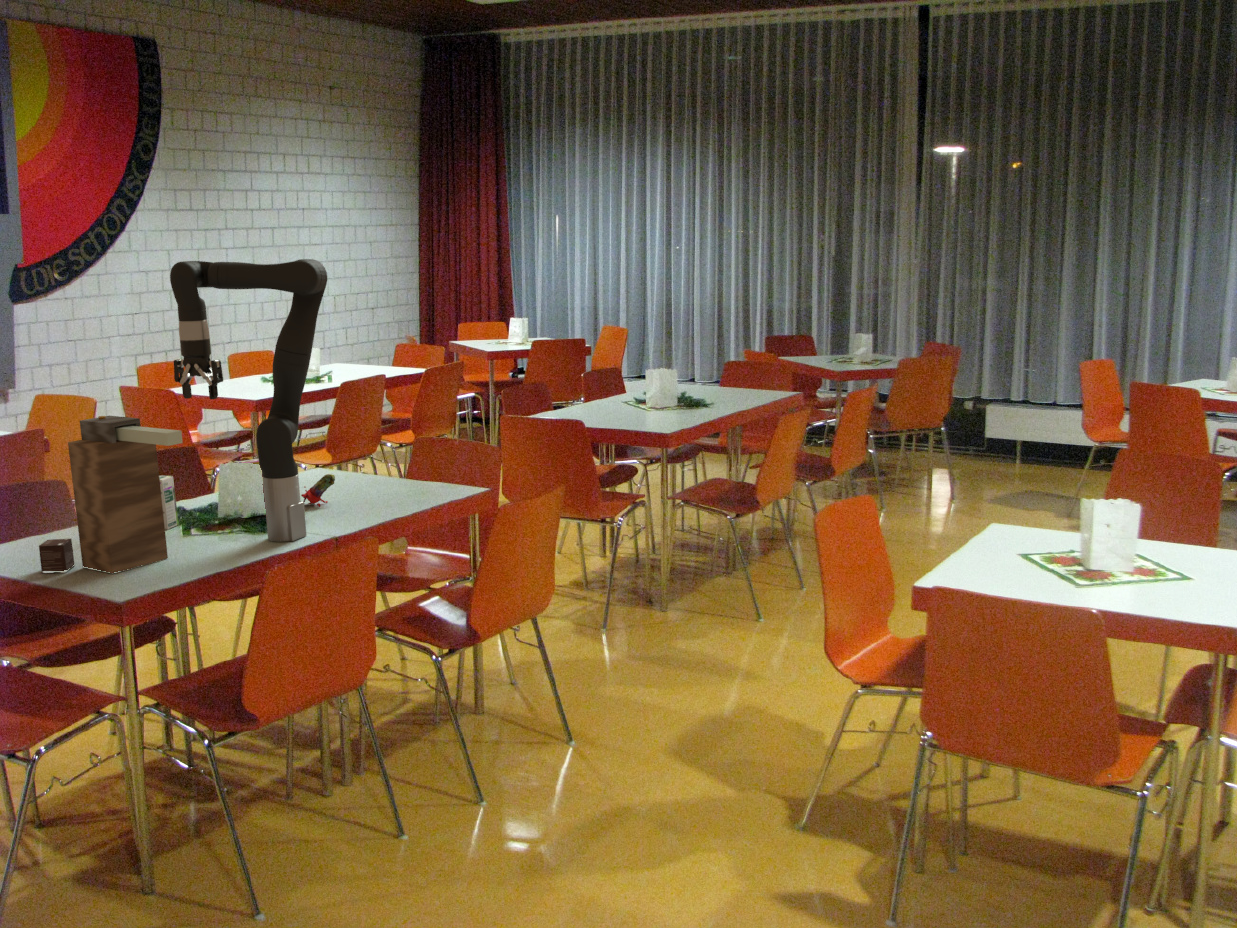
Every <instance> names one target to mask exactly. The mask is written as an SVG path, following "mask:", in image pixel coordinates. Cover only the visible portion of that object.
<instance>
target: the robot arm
mask: <svg viewBox="0 0 1237 928" xmlns="http://www.w3.org/2000/svg"><path fill="white" fill-rule="evenodd" d="M327 272H328V271H327V270H326V268H325V266H324V265H323V264H322V262H320V261H318V260H316V259H313V258H312V259H309V258H302V259H296V260H293V261H288V262H281V263H274V264H269V263H268V264H261V263H252V262H251V263H250V262H241V261H238V262H237V261H216V262H212V261H204V260H203V261H202V260H201V261H200V260H186V261H178V262H176V263H175V264H174V265H173V266H172V267H171V270H170V273H169V281H170V286H171V289H172V293H173V296H174V299H175V301H176V304H177V313H178V336H179V346H180V353H181V356H182V357H183V359H182V358H179V359H178V358H177V359H174V360H173V373H174V377H173V378H174V382H175V383H179V384H180V385H181V390H182V391H181V392H182V396H183V398H184V399H186V400H187V399H191V398H192V397H193V395H192V385H191V381H192V380H193V378H194V377H202V379H203V380H205V381H206V382H207V385H208V386H207V387H208V395H209V396H208V397H209V400H216V399H218V396H219V392H218V391H219V390H218V385H219V384H220V383H223V382H224V377H223V376H224V375H223V367H222V361H221V360H220V359H213V360H211V354H212V349H211V347H212V346H211V338H210V336H211V335H210V329H209V325H208V323H209V322H208V315H207V306H206V302H205V300H204V299H203V298H201V297H200V293H199V291H198V290H199V289H198V288H214V289H218V290H256V289H257V290H258V289H260V290H261V289H263V290H264V289H266V290H277V291H281V292H288V293H292V300H291V306H290V309H289V313H288V315H287V317H286V319H285V322H284V323H283V326H282V328H281V329H280V332H279V335H278V337H277V341H276V344H275V347H274V349H275V350H274V354H273V361H272V381H273V384H272V385H273V395H272V396H273V397H272V400H271V406H270V409H269V412H268V416H267V418H266V419H264V420H262V421H261V422H260V423H259V424H258V426H257V428H256V429H257V430H256V433H255V434H256V435H255V436H256V438H255V440H256V450H257V457H258V458H257V459H259V465H260V468H261V470H262V475H263V486H264V498H265V509H266V515H265V517H266V518H265V519H266V529H267V539H268V541H271V542H277V543H278V542H295V541H297V540H299V539H302V538H305V537H306V536H307V526H306V525H307V524H306V513H305V504H304V503H305V502H303V501H302V500H301V493H300V491H301V490H300V478H299V467H298V464H297V463H296V460H295V458H294V457H295V456H294V449H293V444H294V443H295V441H296V439H297V437H298V434H299V433H298V432H299V423H300V422H299V420H300V407H301V400H302V395H303V391H304V389H305V386H306V385H305V384H306V380H307V376H308V372H309V371H308V370H309V367H310V362H311V357H312V351H313V346H314V345H313V344H314V339H315V333H316V327H317V319H318V314H319V310H320V307H321V304H322V300H323V297H324V294H325V291H326V287H327V284H328V273H327Z"/></svg>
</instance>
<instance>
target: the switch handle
mask: <svg viewBox="0 0 1237 928" xmlns="http://www.w3.org/2000/svg"><path fill="white" fill-rule="evenodd" d="M115 435H116V440H120V441H129V442H138V443H147V444H156V446H157V445H158V446H167V447H170V446H175V445H179V444H183V443H184V442H183V433H182V430H177V429H170V428H169V429H167V428H158V427H148V426H141V427H140V426H130V425H123V426H117V427H115Z"/></svg>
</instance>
